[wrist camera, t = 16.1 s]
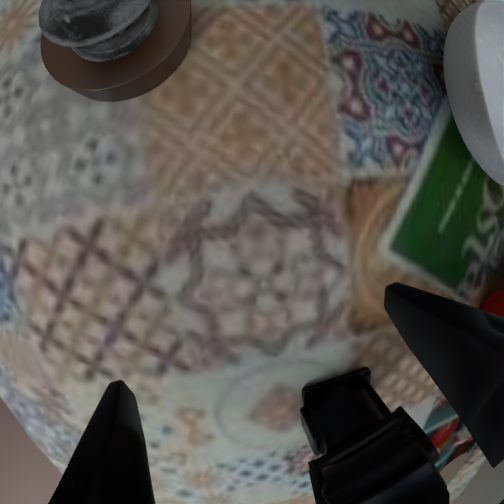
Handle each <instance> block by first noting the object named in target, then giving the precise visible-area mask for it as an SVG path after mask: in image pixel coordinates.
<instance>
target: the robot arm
mask: <svg viewBox="0 0 504 504" xmlns="http://www.w3.org/2000/svg"><path fill="white" fill-rule="evenodd" d="M384 308H385V310H386V312H387V314H388V315H389V317H390V319H391V320H392V322H393V323H394V325H395V327H396V328H397V330H398V332H399V333H400V335H401V336H402V338H403V340H404V341H405V343H406V344H407V346H408V347H409V348H410V350H411V351H412V352H413V354H414V355H415V356H416V358H417V359H418V360H419V362H420V363H421V364H422V366H423V367H424V368H425V370H426V371H427V372H428V374H429V375H430V376H431V378H432V379H433V380H434V382H435V383H436V385H437V386H438V387H439V389H440V390H441V391H442V393H443V394H444V396H445V397H446V398H447V400H448V401H449V403H450V404H451V406H452V407H453V408H454V410H455V411H456V413H457V414H458V416H459V417H460V419H461V420H462V421H463V423H464V424H465V426H466V427H467V429H468V431H469V432H470V433H471V435H472V437H473V438H474V440H475V441H476V443H477V444H478V446H479V447H480V449H481V450H482V452H483V454H484V455H485V457H486V458H487V460H488V461H489V463H490V464H491V466H492V467H493V468H494V467H496V466H497V465H498V464H499V463H500V462H502V461H503V460H504V317H503V316H500V315H496V314H493V313H490V312H487V311H483V310H481V309H478V308H475V307H472V306H469V305H466V304H463V303H460V302H457V301H454V300H451V299H448V298H445V297H442V296H438V295H435V294H432V293H429V292H426V291H423V290H420V289H417V288H414V287H411V286H407V285H404V284H401V283H398V282H394V283H392V284H390V285H388V286H386V288H385V297H384ZM370 377H371V371H370V369H369V368H368V367H364V368H361V369H358V370H356V371H353V372H350V373H347V374H344V375H341V376H338V377H335V378H332V379H329V380H326V381H323V382H320V383H316V384H313V385H310V386H307V387H305V388H303V390H302V397H303V407H301V409H300V413H301V421H302V426H303V429H304V431H305V434H306V436H307V438H308V441H309V443H310V446H311V448H312V450H313V453H314V454H315V455H320V454H321V455H322V456H321V457H319V458H317V459H316V460H314V459H313V460H312V461H310V462H308V464H309V469H310V470H309V474H310V479H311V483H312V488H313V492H314V497H315V504H449V492H448V490H447V485H446V483H445V482H444V480H443V478H442V476H441V475H440V473H439V471H438V470H437V468H436V466H435V464H436V463H438V462H439V461H440V460H441V458H440V456H439V453H438V452H437V450H436V448H435V446H434V445H433V443H432V442H431V440H430V439H429V438H428V436H427V435H426V434H425V432H424V431H423V430H422V429H421V428H420V427H419V426H418V424H417V423H416V422H415V421H414V420H413V419H412V418H411V417H410V416H409V415H408V414H407V412H406V411H405V410H404V409H403V408H402V407H401V406H399V407H398V408H397V409H395V411H394V412H393V413H391V412H390V410H389V409H388V407H387V406H386V405H385V403H384V402H383V401H382V399H381V398H380V397H379V395H378V394H377V393H376V391H375V390H374V389H373V387H372V386H371V384H370ZM308 391H309V392H308ZM48 504H155V500H154V494H153V489H152V483H151V477H150V471H149V464H148V457H147V450H146V443H145V438H144V433H143V429H142V425H141V420H140V416H139V411H138V406H137V401H136V398H135V396H134V394H133V393H132V391H131V390H130V389H129V388H128V386H127V385H126V384H125V383H124V382H123V381H122V380H118V381H114V382H111V383H110V384H109V385H108V387H107V389H106V391H105V393H104V394H103V396H102V398H101V400H100V402H99V404H98V406H97V408H96V410H95V412H94V413H93V415H92V417H91V419H90V421H89V423H88V425H87V427H86V429H85V431H84V433H83V435H82V437H81V439H80V441H79V443H78V445H77V447H76V449H75V451H74V453H73V455H72V458H71V460H70V462H69V464H68V467H67V468H66V470H65V472H64V474H63V476H62V478H61V480H60V482H59V485H58V487H57V488H56V490H55V492H54V494H53V496H52V498H51V499H50V501H49V503H48ZM499 504H504V499H503V500H502V501H501V502H500V503H499Z"/></svg>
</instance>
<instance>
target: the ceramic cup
mask: <svg viewBox="0 0 504 504" xmlns="http://www.w3.org/2000/svg"><path fill="white" fill-rule="evenodd" d="M480 309H481V310H483V311H487V312H490V313H493V314H496V315H500V316H503V317H504V288H503V289H501V290H498V291H495V292H494V293H492V294H491V295H490V296H489V297H488V298H487V299H486V301H485V302H484V303H483V305H482V307H481V308H480Z"/></svg>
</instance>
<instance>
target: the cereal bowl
mask: <svg viewBox="0 0 504 504" xmlns="http://www.w3.org/2000/svg"><path fill="white" fill-rule="evenodd" d="M443 58H444V60H443V67H444V71H443V72H444V80H445V85H446V90H447V95H448V99H449V104H450V108H451V110H452V114H453V116H454V119H455V122H456V125H457V128H458V129H459V132H460V134H461V135H462V139H463V141H464V143H465V144H466V146H467V148H468V150H469V151H470V152H471V155H472V157H473V158H475V160H476V162H477V163H478V164H479V165H480V167H481V169H483V170H484V171H485V172H486V173H487V174H488V175H489V176H490V177H491V178H492V179H493V180H494V181H496V182H497V183H498V184H500V185H502V186H503V187H504V0H481V1H477V2H476V3H473V4H471V5H470V6H469V7H466V8H465V9H464V10H462V11H461V12H460V13H459V14H458V15H457V17H456V18H455V19H454V20H453V23H452V24H451V25H450V28H449V30H448V34H447V37H446V42H445V45H444V55H443Z"/></svg>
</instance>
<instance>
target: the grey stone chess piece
mask: <svg viewBox="0 0 504 504" xmlns="http://www.w3.org/2000/svg"><path fill="white" fill-rule="evenodd" d="M158 14H159V9H158V4H157V0H42V3H41V6H40V10H39V26H40V28H41V30H42V33H43V35H44V36H46V37H47V38H48V39H49V40H50V41H51V42H53V43H55V44H58V45H60V46H63V47H71V48H72V50H73V51H74V52H75V53H76V54H77V55H78V56H80V57H81V58H84V59H86V60H88V61H96V62H103V61H111V60H114V59H117V58H120V57H123V56H125V55H127V54H128V53H130V52H132V51H134V50H135V49H137V48H138V47H139V46H140V45H141V44H142V43H143V42H145V41H146V39H147V38H148V37H149V35H150V34H151V33H152V32H153V30H154V27H155V25H156V23H157V21H158Z"/></svg>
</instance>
